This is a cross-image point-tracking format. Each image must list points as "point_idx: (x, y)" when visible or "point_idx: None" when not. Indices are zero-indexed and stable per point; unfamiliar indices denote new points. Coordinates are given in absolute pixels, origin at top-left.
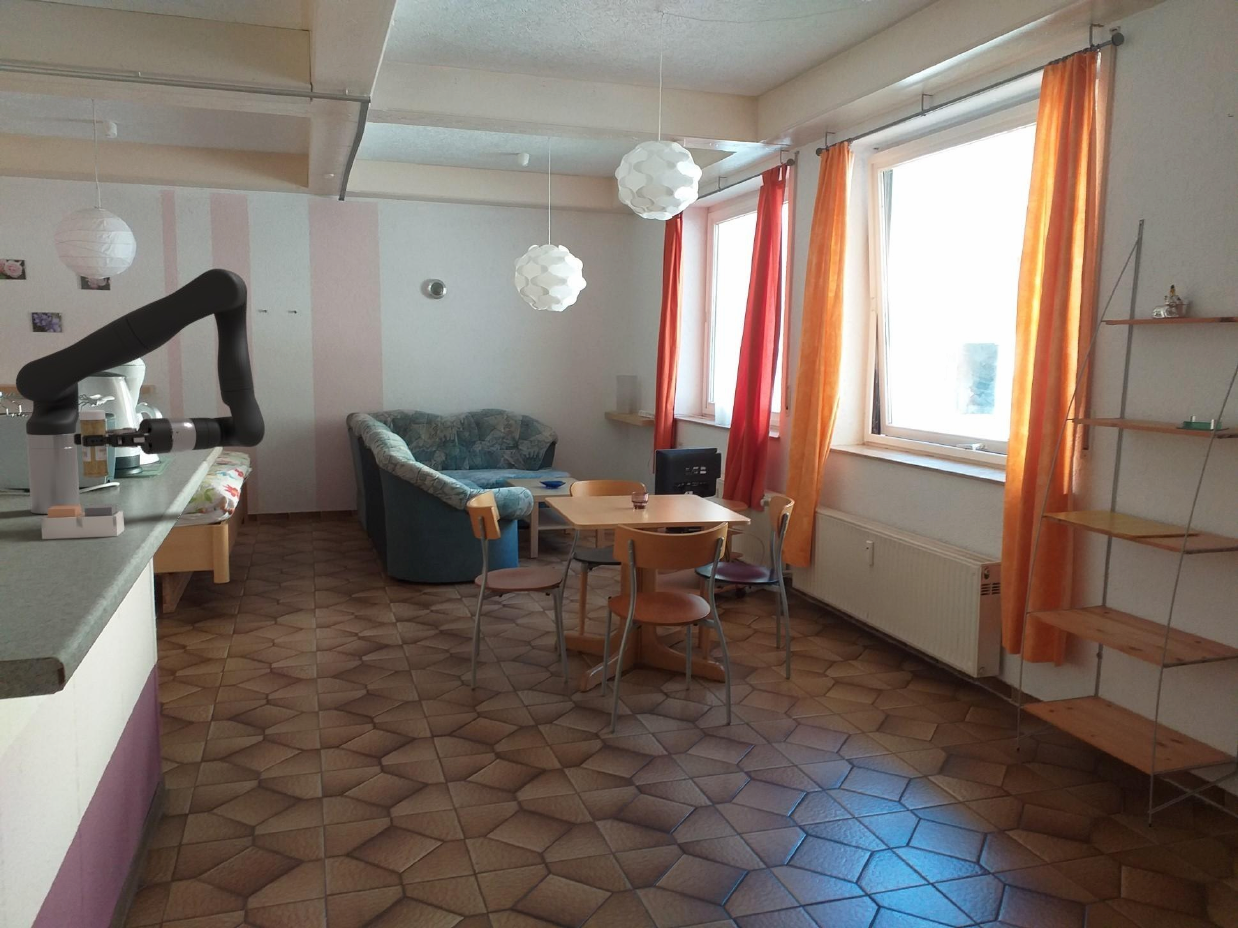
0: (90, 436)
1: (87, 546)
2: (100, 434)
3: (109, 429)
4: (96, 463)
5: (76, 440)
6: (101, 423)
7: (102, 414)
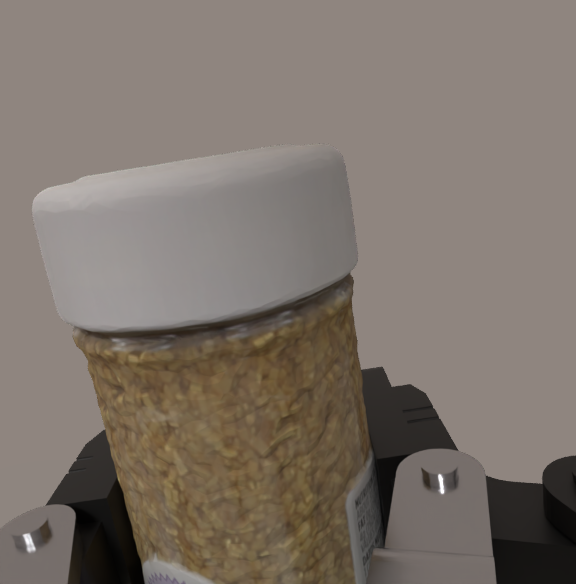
0: None
1: None
2: (120, 485)
3: (401, 562)
4: None
5: None
6: (94, 368)
7: (45, 250)
